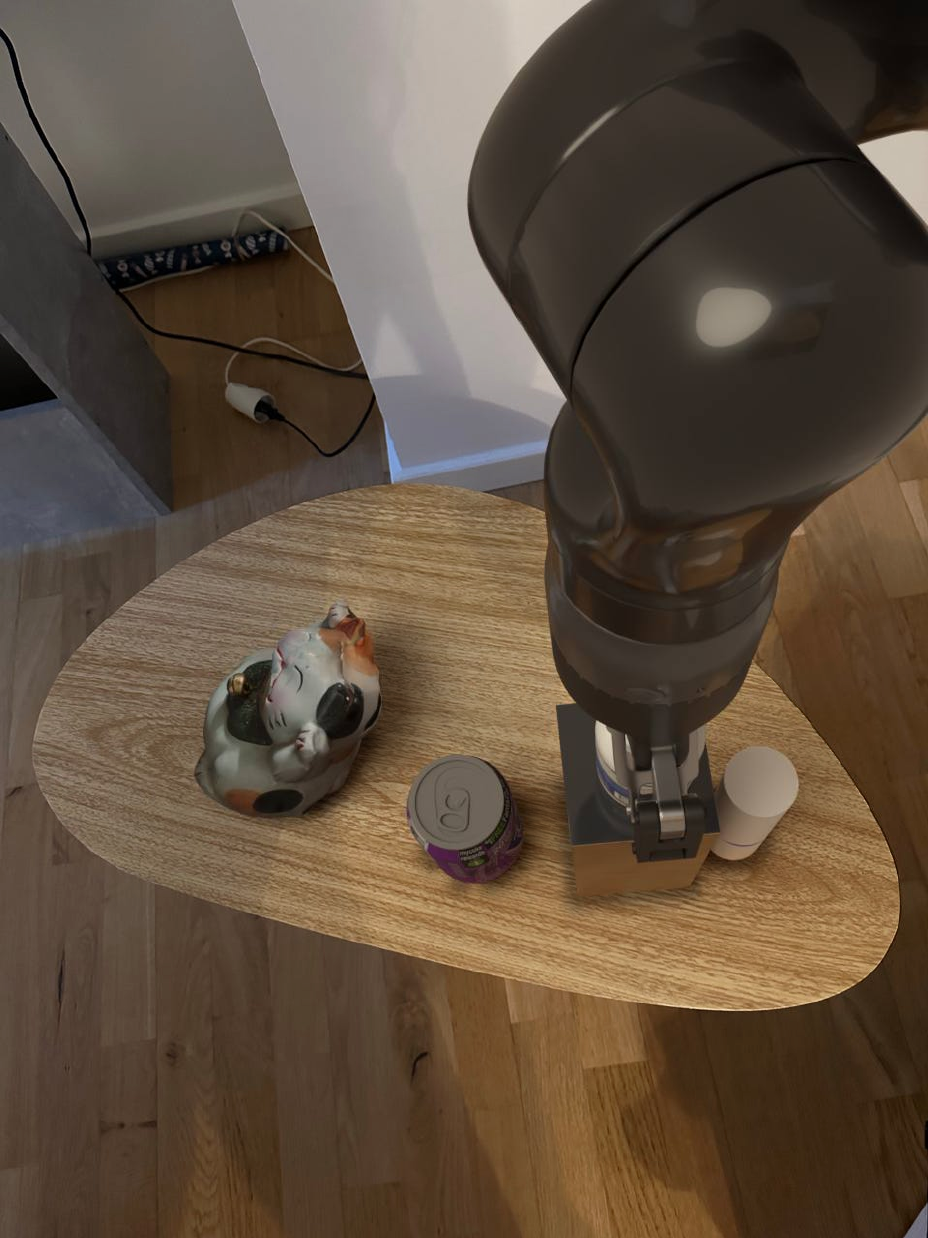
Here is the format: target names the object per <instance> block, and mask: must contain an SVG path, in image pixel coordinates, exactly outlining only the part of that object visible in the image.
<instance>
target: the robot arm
mask: <svg viewBox="0 0 928 1238" xmlns="http://www.w3.org/2000/svg"><path fill="white" fill-rule="evenodd" d="M910 132H927V133H928V0H589V1H588V2H587V3H585V4H584V5H582V6H581V7H580V8H579V9H578V10H577V11H576V12H575V13H573V14H572V15H571V16H570V17H569V18H568V19H567V20H565V21H564V22H563V23H562V24H561V25H560V26H558V27H557V28H556V29H555V30H554V31H553V32H552V33H551V34H550V35H549V36H548V37H547V38H546V39H545V40H544V41H543V42H542V44H541V45H540V46H539V47H538V48H537V49H536V50H535V52H534V53H532V55H531V57H530V58H529V59H527V61H526V62H525V63H524V65H523V66H522V67H521V68H520V69H519V70H518V72H517V73H516V74H515V76H514V78H513V79H512V80H511V82H510V83H509V85H508V86H507V88H506V90H505V92H504V93H503V95H502V96H501V98H500V99H499V101H498V102H497V104H496V106H495V107H494V109H493V110H492V113H491V115H490V117H489V118H488V121H487V123H486V125H485V128H484V130H483V131H482V134H481V137H480V138H479V141H478V143H477V146H476V149H475V153H474V156H473V160H472V164H471V168H470V172H469V177H468V182H467V192H466V193H467V195H466V201H467V202H466V210H467V217H468V224H469V225H468V226H469V229H470V233H471V237H472V240H473V242H474V245H475V247H476V250H477V252H478V255H479V257H480V259H481V262H482V263H483V266H484V268H485V269H486V272H487V273H488V275H489V276H490V278H491V279H492V281H493V283H494V285H495V286H496V288H497V290H498V292H499V293H500V294H501V297H502V298H503V299H504V301H505V302H506V304H507V305H508V307H509V309H510V311H511V312H512V314H513V316H514V317H515V319H517V321H518V323H519V324H520V325H521V327H522V328H523V330H524V332H525V333H526V335H527V337H528V339H529V340H530V342H531V343H532V345H533V346H534V348H535V350H536V351H537V353H538V355H539V356H540V358H541V360H542V361H543V363H544V365H545V366H546V368H547V370H548V371H549V373H550V374H551V376H552V378H553V380H554V381H555V383H556V384H557V386H558V387H559V389H560V391H561V392H562V394H563V396H564V398H565V399H566V400H565V401H564V403H563V404H562V405H561V407H560V410H559V411H558V414H557V416H556V418H555V420H554V422H553V424H552V427H551V430H550V431H549V436H548V441H547V444H546V449H545V454H544V460H543V482H542V483H543V486H542V487H543V489H542V491H543V492H542V495H543V496H542V498H543V508H544V517H545V526H546V536H547V545H546V552H545V558H544V580H543V581H544V591H545V600H546V609H547V618H548V625H549V631H550V640H551V641H550V642H551V651H552V657H553V662H554V667H555V669H556V672H557V675H558V677H559V680H560V682H561V684H562V685H563V688H564V689H565V691H566V692H567V694H568V695H569V696H570V697H571V699H572V700H573V701H574V702H575V703H577V704H578V705H579V707H580V708H582V709H583V710H584V711H585V712H586V713H587V714H588V715H590V716H591V717H592V718H594V719H595V720H597V721H599V722H600V723H602V724H604V725H606V729H607V730H608V732H610V733H611V738H612V750H613V762H614V767H615V773H616V779H617V782H618V784H619V785H621V786H623V787H626V788H627V791H628V803H629V804H626V813H627V816H628V817H629V824H630V826H635V828H634V843H631V844H632V853H633V855H635V854H636V859H637V863H645V862H656V861H667V860H679V859H690V858H696V855H697V852H698V849H699V846H700V843H701V840H702V837H703V834H704V831H705V827H706V822H705V819H708V812H707V807H706V806H703V801H702V798H701V797H697V794H695V793H692V794H687V785H688V783H689V782H690V781H692V780H694V779H695V778H696V777H697V776H698V773H699V763H698V731H697V729H698V728H700V727H701V726H703V725H706V724H708V723H710V721H712V720H714V719H715V718H716V717H717V716H719V715H720V714H721V713H722V712H724V711H725V709H727V707H728V706H729V705H730V704H731V703H732V702H733V700H735V698H736V696H737V695H738V694H739V692H740V691H741V689H742V687H743V685H744V683H745V681H746V679H747V676H748V673H749V671H750V669H751V666H752V663H753V661H754V658H755V656H756V653H757V651H758V649H759V646H760V643H761V640H762V639H763V635H764V632H765V630H766V627H767V625H768V622H769V620H770V618H771V615H772V611H773V607H774V604H775V601H776V598H777V592H778V586H779V578H780V577H779V576H780V567H781V564H782V561H783V559H784V557H785V554H786V550H787V548H788V545H789V543H790V540H791V537H792V534H793V533H794V532H795V531H796V530H797V528H798V527H800V525H802V523H804V521H805V520H806V519H807V518H808V517H809V516H810V515H811V514H812V513H814V511H815V510H817V508H819V506H821V505H822V504H823V503H824V502H825V501H826V500H827V499H829V498H830V497H831V496H832V495H834V494H836V493H837V492H838V491H840V490H842V489H843V488H845V487H846V486H848V485H849V484H851V483H852V482H853V481H855V480H856V479H858V478H859V477H861V476H862V475H863V474H865V473H866V472H868V471H870V469H872V468H873V467H875V466H877V465H878V464H879V463H880V462H881V461H882V460H884V459H885V458H886V457H887V456H889V455H890V454H892V453H893V451H895V450H896V449H897V448H898V447H899V446H900V445H901V444H903V443H904V442H905V441H906V440H907V439H908V438H909V437H910V436H912V434H913V433H914V432H916V430H917V429H918V428H919V427H920V426H921V425H922V423H923V422H924V421H925V420H926V419H927V418H928V224H927V222H926V221H925V220H924V219H923V218H922V216H921V215H920V214H919V213H918V212H917V210H916V209H915V208H914V207H913V206H912V205H911V204H910V203H909V202H908V200H907V199H906V198H905V197H904V195H902V193H901V192H900V191H899V190H898V189H897V188H896V187H895V185H894V184H892V182H891V181H890V179H888V177H886V176H885V174H883V173H882V171H881V170H880V169H879V168H878V167H877V165H876V164H874V163H873V161H872V160H871V159H870V157H868V156H867V154H865V152H864V151H863V150H862V149H861V147H860V146H861V145H864V144H867V143H871V142H874V141H877V140H881V139H884V138H887V137H891V136H895V135H901V134H905V133H910ZM625 734H626V735H627V738H628V742H629V746H630V749H631V753H629V752H628V751H626V738H625ZM646 784H652V793H648V794H640V789H641V787H642V786H644V785H646Z"/></svg>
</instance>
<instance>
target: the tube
mask: <svg viewBox="0 0 928 1238" xmlns="http://www.w3.org/2000/svg"><path fill="white" fill-rule="evenodd" d="M799 784H800V783H799V777H798V773H797V770H796V768H795V766H794V765H793V763H792V762H791V760H790V759H789V758H788V757H786V756H785V754H783V753H781V752H780V751H779V750H776V749H774V748H772V747H768V746H763V745H762V746H761V745H753V746H748V747H746V748H742V749H741V750H739V751H738V752H736V753H735V754H734V755H733V756H732V757H731V758H730V759H729V760H728V763H727V765H726V766H725V769H724V770H723V773H722V776H721V778H720V780H719V783H718V784H717V787H716V789H715V790H714V795H715V801H716V807H717V813H718V819H719V826H720V834H719V835H718V837H717V839H716V840H715V842H714V844H713V846H712V848H711V849H710V851H711V852H712V853H713V854H715V855H716V856H717V857H720V858H721V859H725V860H730V861H739V860H743V859H746V858H748V857H750V856H751V855H753V854H754V853H755V852H756V851H757V850H758V848H759V847H760V845H761V844H762V843H763V842H764V840H765V839H766V838H767V837H768V835H769V834H770V833H771V832H772V831H773V829H774V828H775V827H776V825H777V824H778V823H779V821H780V820H781V819H782V818H783V816H784V815H785V814H786V813H787V812H788V810H789V809H790V807H791V806H792V805H793V804H794V802H795V800H796V798H797V796H798V793H799V789H800V788H799Z"/></svg>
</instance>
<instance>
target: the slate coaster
mask: <svg viewBox="0 0 928 1238" xmlns="http://www.w3.org/2000/svg"><path fill="white" fill-rule="evenodd" d="M555 713H556V721H557V733H558V740H559V749H560V760H561V768H562V769H561V770H562V778H563V787H564V788H563V789H564V796H565V797H564V798H565V805H566V814H567V815H566V816H567V825H568V834H569V835H568V836H569V843H570V848H571V847H578V846H589V845H600V844H611V843H623V842H634V828H635V826H630V824H629V817H628V816H627V813H626V806H624V805H622V804H620V803H619V802H617V801H616V800H615V799H614V798H613V797H611V796H610V795H609V793H608V792H607V791H606V789H605V788H604V786H603V785H602V783H601V780H600V778H599V775H598V771H597V765H596V743H595V725H596V720H595V719H594V718H592V717H591V716H590V715H588V714H587V713H586V712H585V711H584V710H583V709H582V708H580V707H579V705H578V704H577V703H576V702H575V703H574V702H573V703H564V704H555ZM692 793H695V794H697V797H701V798H702V801H703V806H706V807H707V812H708V819H705V822H706V827H705V831H704V834H703V835H712V834H720V826H719V819H718V813H717V807H716V801H715V795H714V793H715V790H714V784H713V778H712V771H711V765H710V760H709V753H708V747H707V741H706V740H705V745H704V750H703V753H702V756H701V758H700V761H699V773H698V776H697V777H696V778H695V779H694V780H693V781H692V783H691V785H690V787H689V789H688V790H687V794H692Z"/></svg>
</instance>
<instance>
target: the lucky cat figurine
mask: <svg viewBox="0 0 928 1238" xmlns="http://www.w3.org/2000/svg"><path fill="white" fill-rule="evenodd" d="M379 676H380V671H379V669H378V666H377V665H376V663H375V645H374V641H373V638H372V636H371V632H370V631H369V630H368V628H367V626H366V622H365V620H364V618H363V617H358V616H357V615H356V614H355V613H354V612H353V611H352V610H351V609H350V606H349V605H348V603H347V601H345V600H344V601H342V600H339V599H338V598H337V599H335V603H333V604H332V605H331V606H330V608H329V609H328V612H327V616H326V617H325V618H321V619H319V620H316V621H314V622H313V623H311V625H310V626H307V627H300V628H297V629H293V630H288V631H287V632H286V633H285V634H284V635H283V636H281V637H280V638H279V640H278V642H277V645H276V647H274V646H273V647H265V648H259V649H258V650H257V649H256V651H254V652H252V653H251V654H248V655H247V656H246V657H245V658H244V659H243V660H242V661H241V662H240V663H239V665H238V667H237V668H236V669H235V670H234V671H233V672H232V673H227V674H225V675H223V677H222V680H221V683H220V684H219V685H218V687H216V689H214V691H213V693H212V695H211V697H210V698H209V700H208V702H207V705H206V708H205V715H204V719H203V725H202V738H203V744H204V748H203V752H202V753H201V754H200V757H199V759H198V760H197V762H196V765H195V768H194V771H193V777H194V779H195V780H196V782H197V785H198V786H199V788H200V790H202V792H203V793H204V794H205V795H206V796H207V797H209V798H210V799H212V800H213V801H215V802H216V803H218V805H221V806H222V807H225V808H227V809H228V810H230V811H233V812H235V813H239V814H240V815H243V816H246V817H252V818H258V819H259V818H260V819H279V818H282V819H284V818H294V819H295V818H304V817H305V816H306V814H308V813H309V811H310V810H311V809H312V808H313V807H315V805H316V804H317V803H318V802H320V801H321V800H322V799H324V798H326V797H328V796H331V795H333V794H334V793H336V792H337V791H338V790H340V789H341V788H342V787H343V786H344V785H345V783H346V782H347V781H346V780H347V778H348V776H349V774H350V771H351V767H352V765H353V763H354V760H355V758H356V757H357V755H358V753H359V750H360V747H361V743H362V739H364V738H365V737H366V736H368V734H370V732H371V731H372V730H373V729H374V727H375V725H376V723H377V721H378V719H379V717H380V716H381V712H382V707H383V706H382V705H383V697H382V693H381V687H380V682H379V679H380V677H379Z"/></svg>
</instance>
